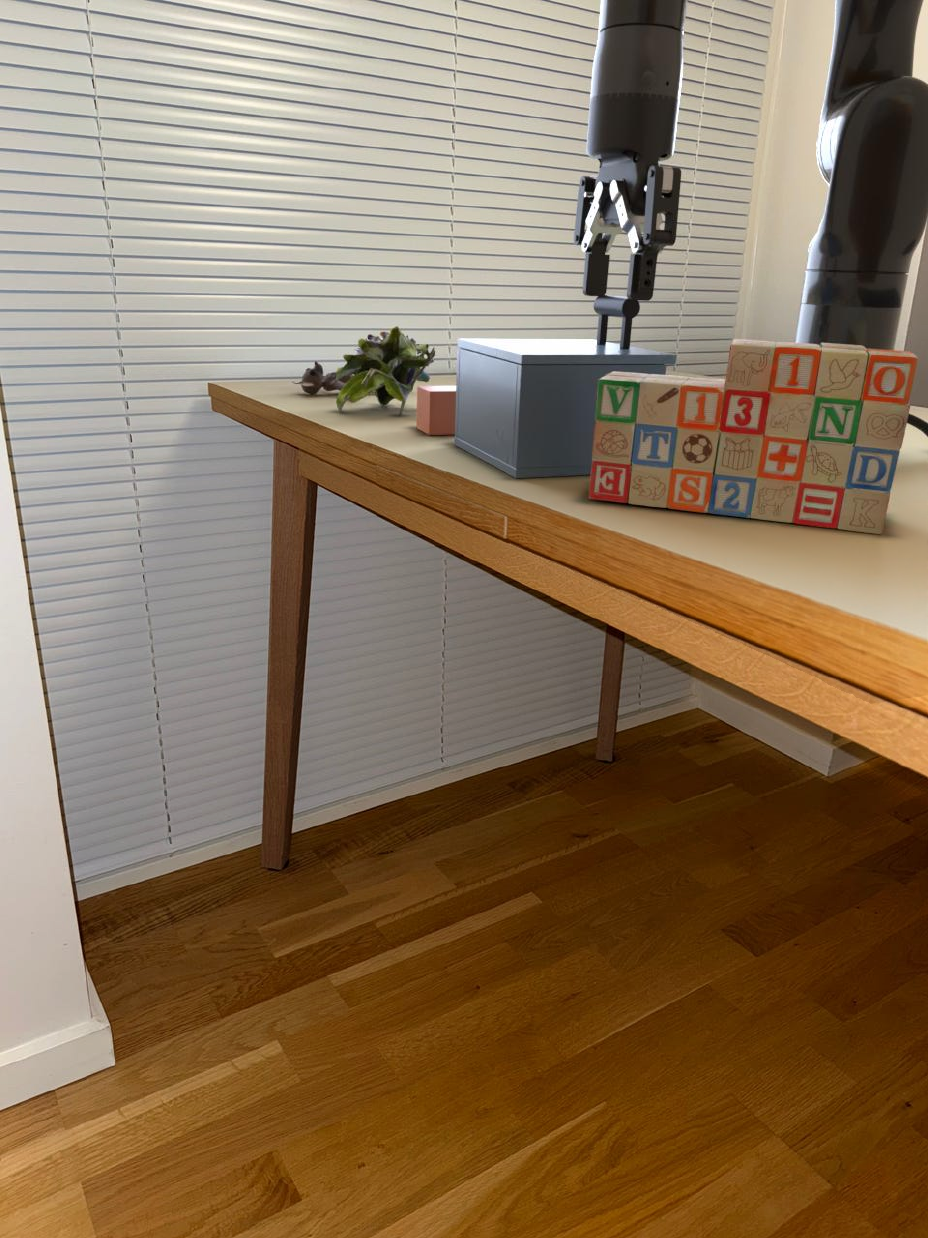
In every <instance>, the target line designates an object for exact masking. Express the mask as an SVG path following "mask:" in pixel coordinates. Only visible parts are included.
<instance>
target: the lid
mask: <svg viewBox="0 0 928 1238" xmlns="http://www.w3.org/2000/svg"><path fill="white" fill-rule="evenodd" d="M593 310H594V312H595V313H596V314H597V315H598V321H597V332H596V339H593V338H592V339H590V338H589V339H588V338H586V339H584V338H583V339H582V338H581V339H579V338H577V339H576V338H575V339H574V338H572V339H571V338H565V339H564V338H457V348H463V349H467V350H470V351H474V352H478V353H481V354H485V355H489V356H492V357H496V358H500V359H503V360H507V361H511V362H514V363H518V364H522V365H564V364H664V365H676V364H677V354H675V353H669V352H663V351H658V350H654V349H653V350H652V349H647V348H643V347H642V348H641V347H637V346H631V338H632V327H633V319H635V318H636V317H637V316H638V315H639V313H640V310H641V305H640V301H639V300H630V299H628V297H627V296H621V295H608V294H605V295H600V296H596V297H595V299H594V302H593ZM609 317H613V318H620V319H622V320H621V331H620V340H619V343H614V342H609V341H607V339H608V327H609V326H608V325H609Z"/></svg>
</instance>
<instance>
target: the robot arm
mask: <svg viewBox="0 0 928 1238" xmlns="http://www.w3.org/2000/svg"><path fill="white" fill-rule="evenodd" d="M923 4H924V0H834V25H833V38H832V47H831V53H830V54H831V55H830V60H829V67H828V73H827V78H826V85H825V92H824V96H823V102H822V108H821V114H820V120H819V125H818V130H817V138H816V150H815V151H816V159H817V166H818V168H819V171H820V174H821V176H822V178H823V179H824V181H825V183H826V184H827V185H828V189H827V190H828V191H827V194H826V202H825V207H824V211H823V215H822V218H821V221H820V224H819V227H818V229H817V231H816V233H815V235H814V236H813V238H812V240H811V242H810V244H809V247H808V252H807V258H806V263H805V271H804V276H803V283H802V291H801V296H800V304H799V311H798V315H797V316H798V317H797V324H796V328H795V329H796V330H795V336H794V342H793V343H808V344H818V345H820V343H834V344H848V345H862V346H864V347H865V348H867V349H881V350H895V347H896V341H897V337H898V330H899V325H900V320H901V316H902V310H903V309H902V308H903V304H904V300H905V299H904V298H905V293H906V288H907V283H908V279H909V278H908V277H909V272H910V269H911V263H912V260H913V256H914V254H915V252H916V249H917V248H918V246H919V244H920V242H921V240H922V238H923V236H924V234H925V230H926V227H927V222H928V83H927V82H926V81H924V80H922V79H920V78H918V77H914V76H913V73H914V60H915V58H914V57H915V45H916V35H917V30H918V24H919V19H920V14H921V11H922V7H923ZM687 7H688V0H600V8H599V9H600V11H599V22H598V34H597V42H596V46H595V47H596V48H595V52H594V57H593V63H592V71H591V83H590V84H591V85H590V98H589V107H588V108H589V109H588V122H587V134H586V146H585V151H586V154H587V156H588V157H590V158H591V159H597V160H598V161H599V166H598V167H599V168H598V172H597V175H596V176H595V175H582V176H581V177H580V178H579V179H580V180H579V185H578V194H577V203H576V212H575V223H574V232H573V243H574V245H575V246H580V247H581V251H582V252H583V253H584V254H585V255H584V256H585V257H584V267H583V277H582V278H583V280H582V294H583V295H584V296H586V297H598V296H600V295H607V290H608V281H609V278H608V277H609V268H610V259H611V257H610V256H611V254H608V253H609V252H610V250H611V248H612V246H613V243H614V241H615V239H616V236H618V235H620V234H622V233H623V232H625V233H626V234H627V235H628V239H629V243H630V248H631V252H632V253H631V254H630V257H629V267H628V276H627V277H628V279H627V286H626V287H627V289H626V297H628V299H630V300H638V301H643V302H644V301H645V302H647V301H651V300H652V298H653V297H654V289H655V282H656V281H655V280H656V272H657V264H658V256H659V255H661V254H662V252H663V250H664V248H666V247H673V246H674V245H675V243H676V240H677V232H678V231H677V228H678V218H679V208H680V207H679V205H680V195H681V183H682V169H681V168H680V167H676V166H664V165H660V162H664V161H668V160H669V159H671V157H673V155H674V152H675V143H676V135H677V125H678V118H679V117H678V116H679V107H680V99H681V90H682V81H683V73H684V72H683V69H684V33H685V26H686V18H687V9H688V8H687ZM662 215H664V219H663V216H662ZM663 221H664V226H663V227H664V229H661V228H660V227H661V225H662V224H663ZM586 226H587V229H586ZM585 230H586V231H585ZM907 424H908V425H910V426H912V427H914V428H916V429H918V430H919V431H921V432H922V433H923V434H924V435H925V436H926V437H927V438H928V421H925V420H923V419H922V418H920V417H918V416H916V415H915V414H911V413H909V416H908V420H907Z"/></svg>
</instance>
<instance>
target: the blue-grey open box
mask: <svg viewBox="0 0 928 1238" xmlns="http://www.w3.org/2000/svg"><path fill="white" fill-rule="evenodd" d="M456 349H457V350H456V381H455V383H456V384H455V386H456V413H455V435H454V445H455V446H456V447H458V448H460V449H462V450H464V451H466V452H467V453H469V454H471V455H473V456H474V457H477V458H478V459H480V460H481V461H484V462H485V463H488V465H491V466H493V467H495V468H497V469H498V470H500V471H502V472H503V473H505V474H507V475H509V476H510V477H513V478H515V479H528V478H550V477H570V476H572V477H573V476H591V467H592V461H593V460H592V451H593V441H594V431H595V424H596V420H595V414H596V403H597V391H598V381H599V379H600V378H602V377H604V376H606V375H607V374H609V373H611V372H613V371H617V372H631V373H643V374H658V375H667V373H666V372H667V364H564V365H522V364H518V363H514V362H511V361H507V360H503V359H500V358H496V357H492V356H489V355H485V354H481V353H478V352H474V351H470V350H467V349H463V348H459V347H457V348H456Z"/></svg>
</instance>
